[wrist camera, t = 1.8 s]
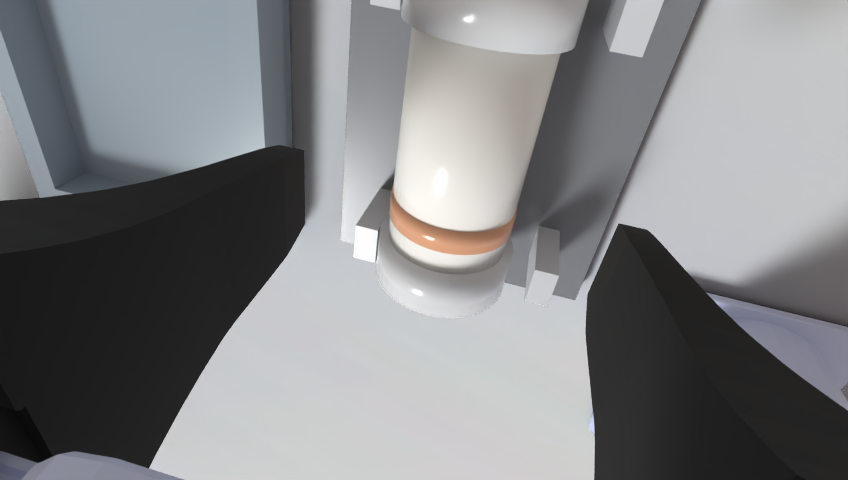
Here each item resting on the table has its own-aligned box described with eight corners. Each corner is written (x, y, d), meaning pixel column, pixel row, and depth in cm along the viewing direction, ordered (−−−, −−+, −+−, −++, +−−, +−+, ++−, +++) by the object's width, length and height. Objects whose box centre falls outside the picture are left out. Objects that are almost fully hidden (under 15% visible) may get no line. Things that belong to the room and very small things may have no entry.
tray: (294, 235, 23) (271, 263, 21) (80, 181, 24) (42, 203, 22) (285, -196, 14) (244, -211, 12) (-50, -247, 15) (-132, -267, 13)
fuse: (516, 260, 19) (480, 337, 16) (408, 222, 20) (351, 286, 17) (605, -30, 13) (581, -14, 10) (447, -61, 14) (374, -56, 11)
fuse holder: (574, 287, 21) (576, 350, 18) (347, 231, 22) (314, 280, 19) (725, -80, 13) (772, -77, 10) (367, -138, 14) (316, -150, 11)
